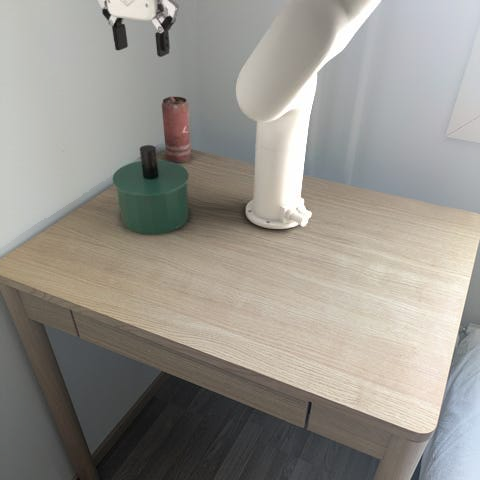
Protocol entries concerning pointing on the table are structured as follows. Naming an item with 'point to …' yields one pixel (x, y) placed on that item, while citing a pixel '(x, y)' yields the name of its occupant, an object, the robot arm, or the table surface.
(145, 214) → the pot
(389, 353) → the table surface
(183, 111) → the can
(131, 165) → the lid
